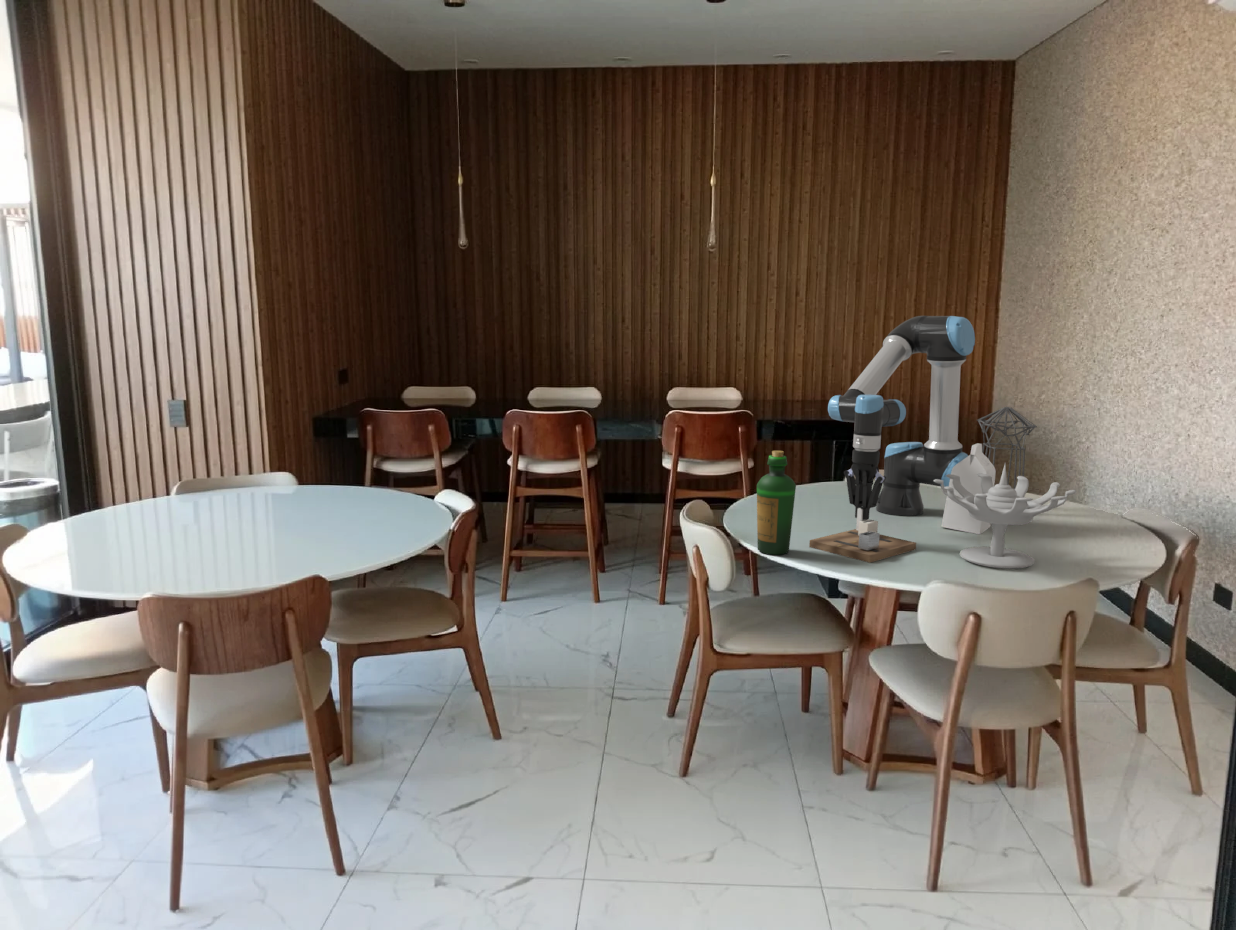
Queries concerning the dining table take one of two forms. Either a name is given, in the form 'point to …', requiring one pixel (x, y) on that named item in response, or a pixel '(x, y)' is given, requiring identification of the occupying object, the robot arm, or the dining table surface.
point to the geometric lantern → (1001, 412)
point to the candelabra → (1001, 515)
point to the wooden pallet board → (849, 547)
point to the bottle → (775, 507)
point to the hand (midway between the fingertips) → (861, 529)
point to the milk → (969, 479)
